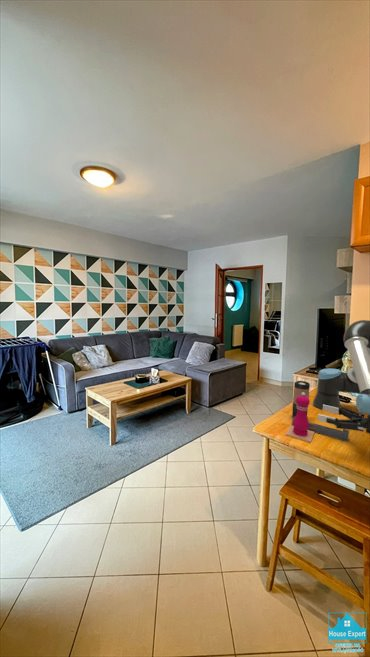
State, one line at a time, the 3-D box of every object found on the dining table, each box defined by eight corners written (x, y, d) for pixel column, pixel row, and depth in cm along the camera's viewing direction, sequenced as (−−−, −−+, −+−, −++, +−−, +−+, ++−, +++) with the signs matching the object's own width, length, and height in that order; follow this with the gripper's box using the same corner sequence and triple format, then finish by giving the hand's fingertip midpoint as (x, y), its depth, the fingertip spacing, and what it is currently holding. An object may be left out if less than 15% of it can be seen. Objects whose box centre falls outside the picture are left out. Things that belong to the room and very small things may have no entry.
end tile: (314, 433, 124) (314, 431, 124) (310, 442, 116) (310, 441, 115) (290, 426, 131) (290, 425, 131) (285, 434, 122) (285, 433, 122)
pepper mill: (294, 427, 128) (297, 388, 126) (310, 432, 124) (313, 392, 122) (290, 433, 123) (293, 392, 121) (306, 438, 118) (309, 396, 116)
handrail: (348, 439, 119) (349, 430, 119) (347, 441, 117) (348, 432, 117) (292, 424, 133) (293, 415, 133) (291, 425, 131) (292, 417, 131)
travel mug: (308, 422, 136) (311, 385, 134) (293, 420, 137) (296, 384, 135) (304, 416, 143) (307, 381, 141) (290, 414, 145) (293, 380, 143)
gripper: (378, 448, 95) (315, 430, 108) (376, 423, 115) (323, 411, 128) (380, 429, 94) (316, 413, 107) (378, 407, 115) (325, 396, 127)
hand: (320, 412), depth 117 cm, fingers open, 13 cm apart
